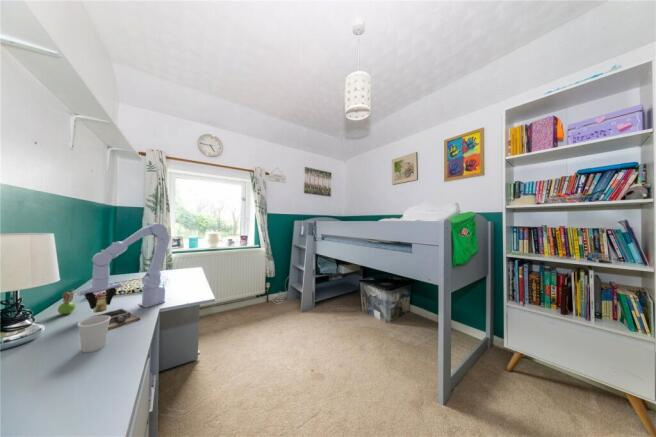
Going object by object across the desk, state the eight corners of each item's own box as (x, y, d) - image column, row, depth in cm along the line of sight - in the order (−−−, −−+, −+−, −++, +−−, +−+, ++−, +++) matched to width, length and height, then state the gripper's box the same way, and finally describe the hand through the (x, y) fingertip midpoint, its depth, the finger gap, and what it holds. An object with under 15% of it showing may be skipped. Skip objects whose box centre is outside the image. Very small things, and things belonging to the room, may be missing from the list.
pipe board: (123, 312, 111) (123, 306, 111) (139, 319, 103) (140, 313, 103) (89, 321, 100) (89, 314, 100) (105, 330, 93) (105, 323, 93)
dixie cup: (89, 356, 76) (90, 326, 76) (69, 352, 78) (70, 324, 78) (116, 342, 84) (116, 316, 84) (97, 340, 86) (98, 314, 86)
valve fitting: (105, 307, 110) (105, 291, 110) (109, 309, 108) (110, 293, 108) (90, 311, 106) (90, 294, 106) (94, 313, 103) (95, 296, 103)
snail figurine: (64, 317, 103) (65, 291, 103) (54, 315, 105) (55, 289, 105) (79, 312, 109) (80, 287, 109) (69, 310, 110) (70, 286, 110)
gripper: (116, 273, 115) (116, 300, 115) (75, 280, 102) (74, 310, 102) (123, 275, 112) (122, 302, 112) (81, 282, 99) (81, 313, 99)
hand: (100, 306), depth 107 cm, fingers closed on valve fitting, 5 cm apart
